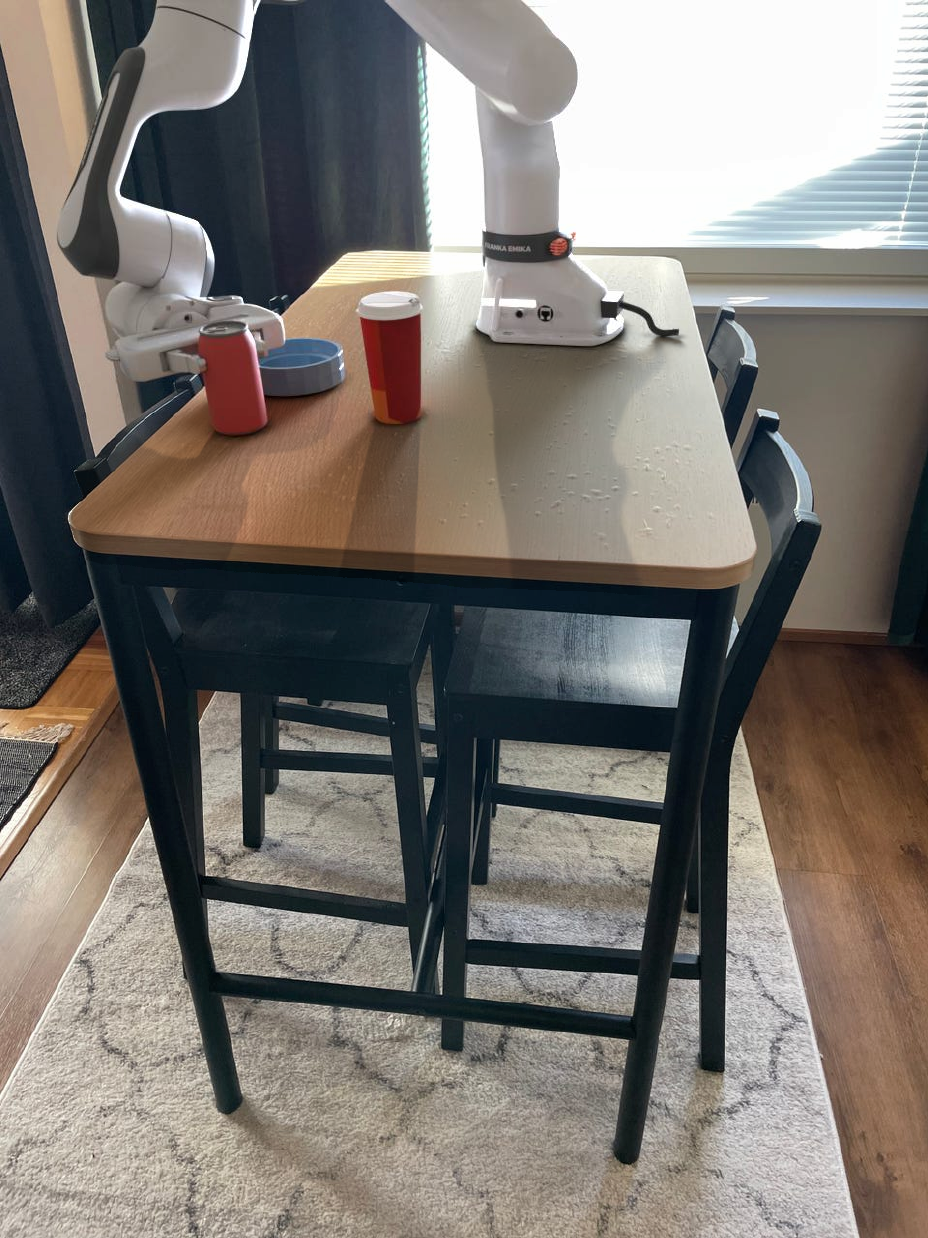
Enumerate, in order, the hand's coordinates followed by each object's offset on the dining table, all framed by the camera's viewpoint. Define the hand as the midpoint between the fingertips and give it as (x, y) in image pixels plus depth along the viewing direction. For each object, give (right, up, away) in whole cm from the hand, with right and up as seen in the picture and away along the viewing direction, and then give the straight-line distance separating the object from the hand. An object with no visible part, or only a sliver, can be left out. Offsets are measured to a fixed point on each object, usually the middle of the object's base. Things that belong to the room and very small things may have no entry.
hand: (232, 358), depth 106 cm
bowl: (+4, +2, +18) cm, 19 cm away
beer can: (0, -7, +5) cm, 9 cm away
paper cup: (+19, -5, +7) cm, 21 cm away
